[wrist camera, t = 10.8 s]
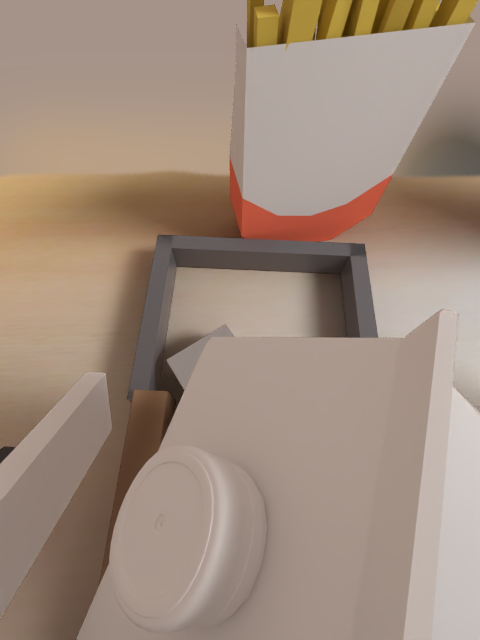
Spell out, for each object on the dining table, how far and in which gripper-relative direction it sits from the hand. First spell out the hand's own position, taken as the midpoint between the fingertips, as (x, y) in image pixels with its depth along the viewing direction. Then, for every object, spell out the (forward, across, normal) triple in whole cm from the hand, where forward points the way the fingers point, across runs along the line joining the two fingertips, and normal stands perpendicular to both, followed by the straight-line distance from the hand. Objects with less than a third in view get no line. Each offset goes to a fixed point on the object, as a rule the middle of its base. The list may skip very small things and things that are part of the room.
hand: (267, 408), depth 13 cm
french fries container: (+19, +3, +6) cm, 20 cm away
